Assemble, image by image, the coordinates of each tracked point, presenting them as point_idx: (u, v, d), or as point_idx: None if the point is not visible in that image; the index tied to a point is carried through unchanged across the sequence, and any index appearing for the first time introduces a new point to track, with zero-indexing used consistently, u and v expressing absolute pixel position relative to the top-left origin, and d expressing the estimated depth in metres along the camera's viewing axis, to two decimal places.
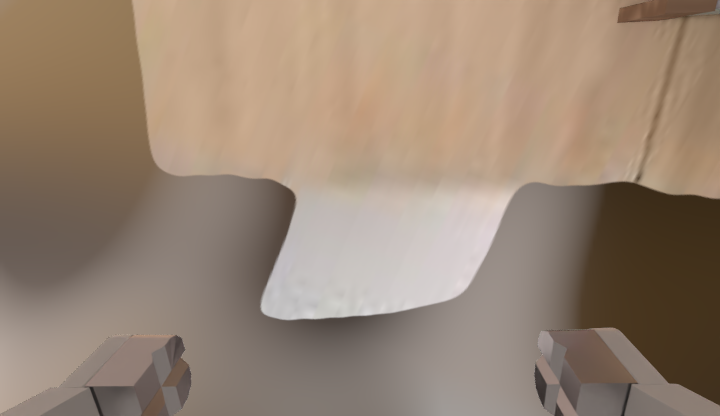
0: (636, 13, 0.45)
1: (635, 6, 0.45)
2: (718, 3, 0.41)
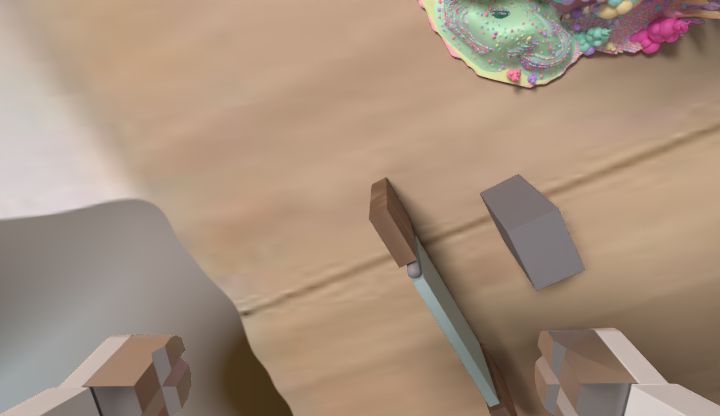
0: (376, 194, 0.35)
1: (384, 188, 0.35)
2: (410, 266, 0.32)
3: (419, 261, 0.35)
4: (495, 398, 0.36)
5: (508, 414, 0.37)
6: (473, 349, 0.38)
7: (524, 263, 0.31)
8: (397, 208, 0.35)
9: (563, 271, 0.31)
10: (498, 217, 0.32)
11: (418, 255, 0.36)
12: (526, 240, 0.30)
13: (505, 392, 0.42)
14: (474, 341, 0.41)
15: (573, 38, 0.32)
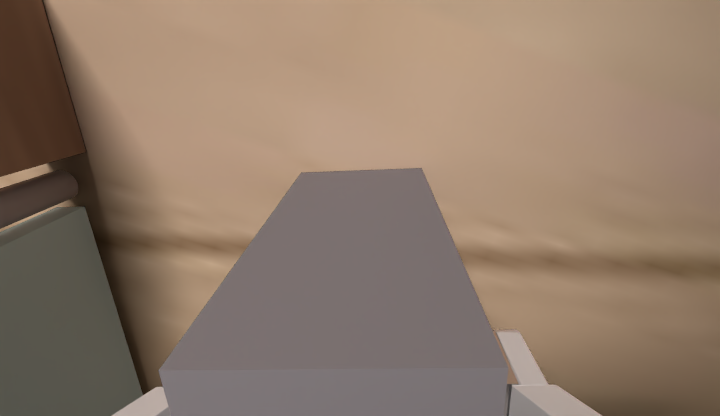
0: None
1: None
2: None
3: None
4: None
5: None
6: None
7: None
8: None
9: None
10: (244, 259, 0.07)
11: None
12: None
13: None
14: None
15: None
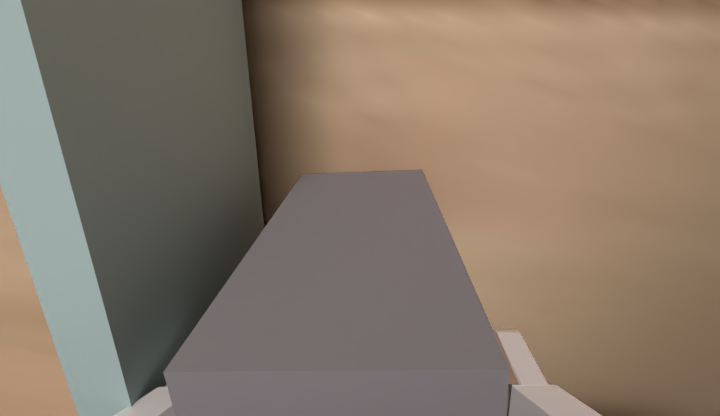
0: None
1: None
2: None
3: None
4: None
5: None
6: None
7: None
8: None
9: None
10: (246, 261, 0.07)
11: None
12: None
13: None
14: None
15: None
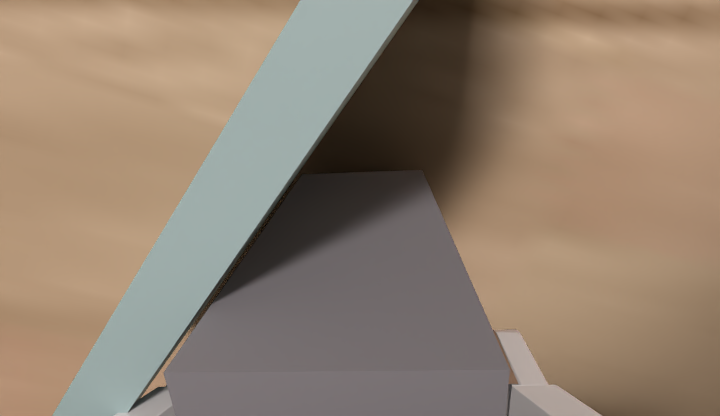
0: None
1: None
2: None
3: None
4: None
5: None
6: None
7: None
8: None
9: None
10: (246, 261, 0.07)
11: None
12: None
13: None
14: None
15: None
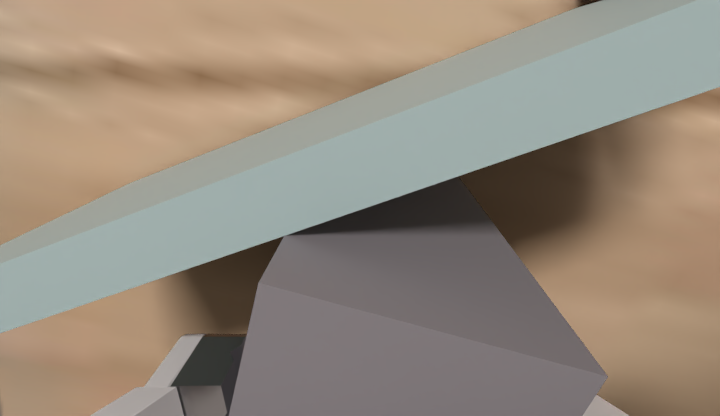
0: None
1: None
2: None
3: None
4: None
5: None
6: None
7: None
8: None
9: None
10: None
11: None
12: (318, 403, 0.05)
13: None
14: None
15: None
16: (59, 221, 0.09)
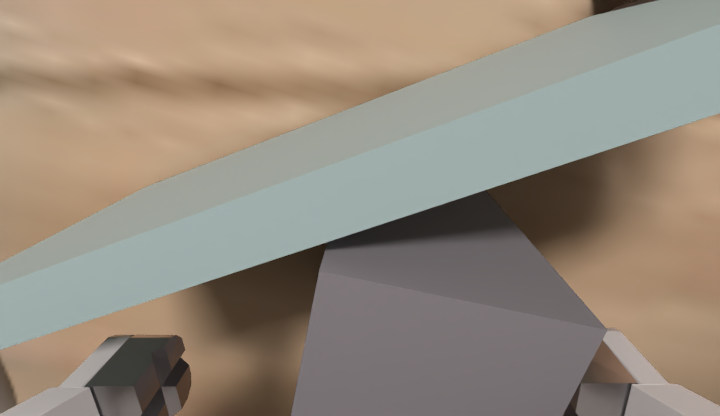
0: None
1: None
2: None
3: None
4: None
5: None
6: None
7: None
8: None
9: None
10: None
11: None
12: (370, 367, 0.06)
13: None
14: None
15: None
16: (84, 225, 0.09)
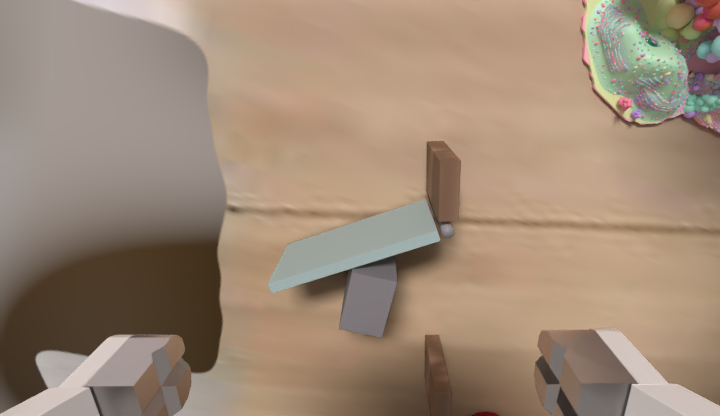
0: (438, 148, 0.35)
1: (446, 147, 0.35)
2: (452, 228, 0.32)
3: None
4: (279, 289, 0.35)
5: (450, 400, 0.38)
6: None
7: (346, 303, 0.34)
8: None
9: (367, 328, 0.35)
10: None
11: None
12: (360, 288, 0.34)
13: None
14: None
15: None
16: (290, 261, 0.37)
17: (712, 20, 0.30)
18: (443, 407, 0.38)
